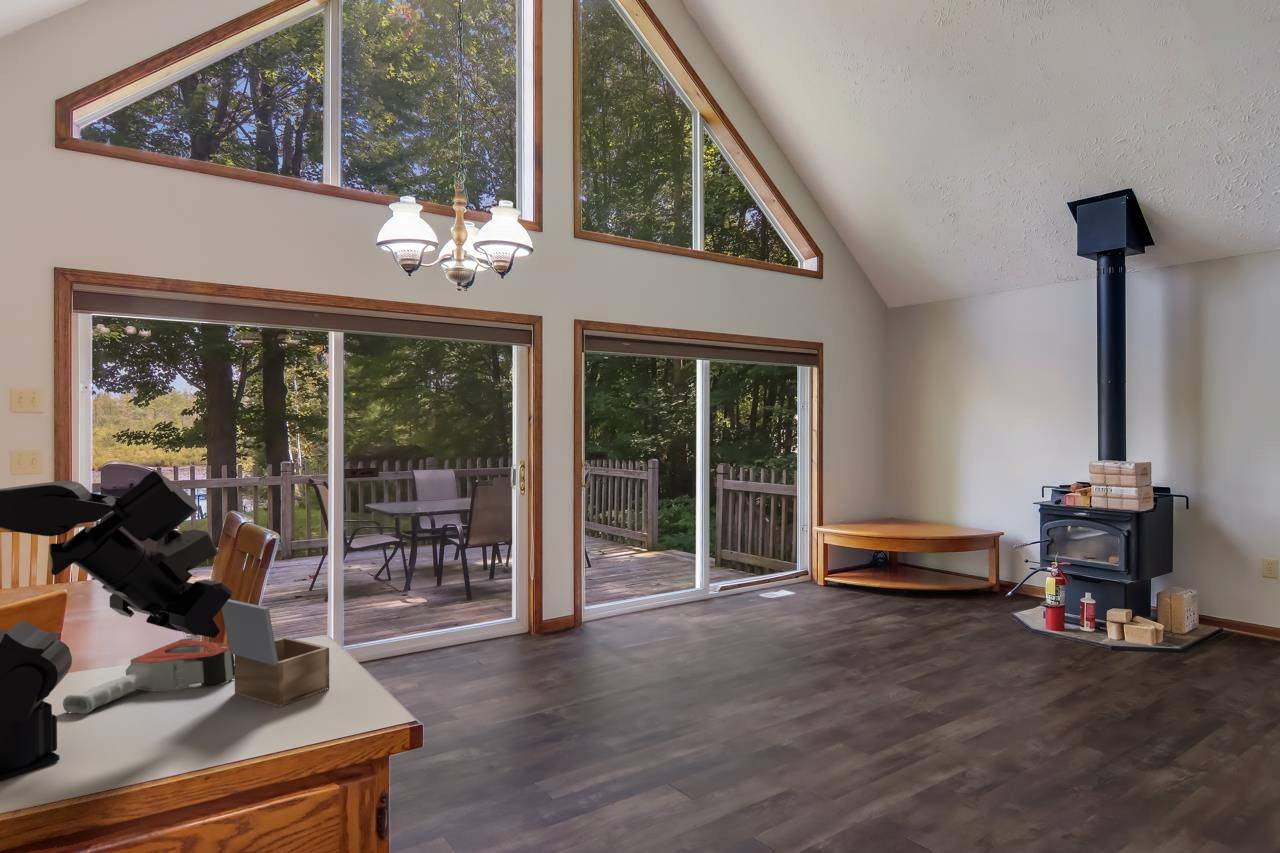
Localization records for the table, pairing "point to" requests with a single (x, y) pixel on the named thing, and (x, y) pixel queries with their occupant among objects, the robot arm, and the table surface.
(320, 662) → the box
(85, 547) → the robot arm
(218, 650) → the tape dispenser
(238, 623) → the lid
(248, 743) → the table surface
